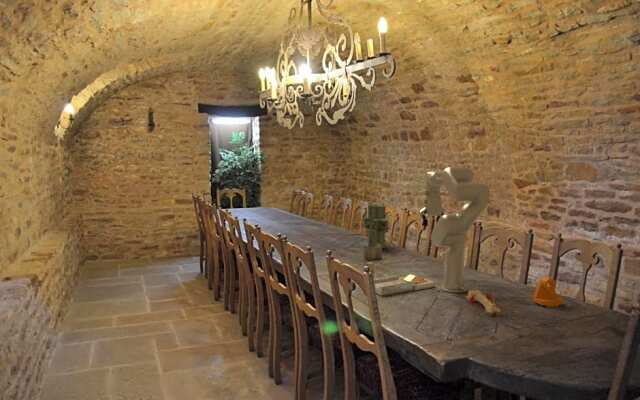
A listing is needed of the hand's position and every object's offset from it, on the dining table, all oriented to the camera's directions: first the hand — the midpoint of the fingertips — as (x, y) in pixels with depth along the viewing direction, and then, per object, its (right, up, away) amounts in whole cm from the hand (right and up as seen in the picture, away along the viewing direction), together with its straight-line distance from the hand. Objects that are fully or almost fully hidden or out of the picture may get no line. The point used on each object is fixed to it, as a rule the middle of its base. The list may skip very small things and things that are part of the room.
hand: (432, 225), depth 277 cm
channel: (-26, -31, -23) cm, 47 cm away
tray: (-12, -30, -14) cm, 35 cm away
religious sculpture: (-21, -20, +81) cm, 86 cm away
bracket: (+43, -34, -46) cm, 71 cm away
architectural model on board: (-28, -24, +46) cm, 59 cm away
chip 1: (-14, -29, -15) cm, 35 cm away
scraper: (-35, -30, -12) cm, 48 cm away
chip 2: (-10, -27, -14) cm, 31 cm away
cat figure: (+12, -34, -49) cm, 61 cm away
